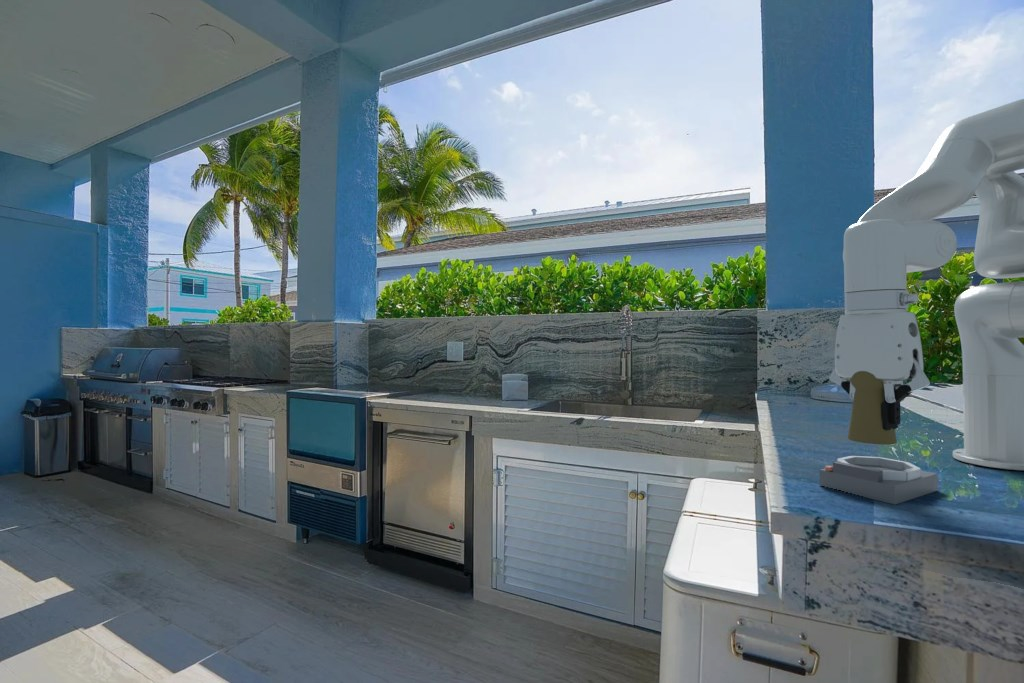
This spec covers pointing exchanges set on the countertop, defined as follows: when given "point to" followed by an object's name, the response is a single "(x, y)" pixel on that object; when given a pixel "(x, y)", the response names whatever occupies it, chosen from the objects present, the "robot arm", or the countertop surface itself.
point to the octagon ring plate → (879, 478)
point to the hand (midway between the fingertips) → (876, 426)
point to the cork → (868, 411)
